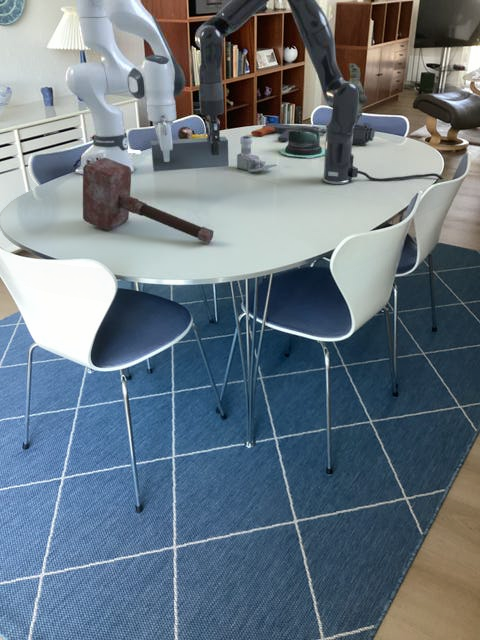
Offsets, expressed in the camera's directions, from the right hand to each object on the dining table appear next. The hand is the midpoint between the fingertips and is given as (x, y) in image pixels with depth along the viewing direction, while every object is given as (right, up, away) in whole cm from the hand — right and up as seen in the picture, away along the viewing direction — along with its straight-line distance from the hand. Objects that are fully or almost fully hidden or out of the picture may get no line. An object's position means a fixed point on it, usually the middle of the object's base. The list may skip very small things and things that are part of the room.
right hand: (213, 152), depth 181 cm
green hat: (+36, +16, +54) cm, 67 cm away
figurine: (-9, +25, +71) cm, 76 cm away
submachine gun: (+31, +32, +82) cm, 93 cm away
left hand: (-15, -3, -2) cm, 16 cm away
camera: (+14, +3, +32) cm, 35 cm away
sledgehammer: (-17, -30, -22) cm, 41 cm away
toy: (+60, +24, +66) cm, 92 cm away
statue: (+64, +37, +88) cm, 115 cm away
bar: (-8, -4, +1) cm, 9 cm away
